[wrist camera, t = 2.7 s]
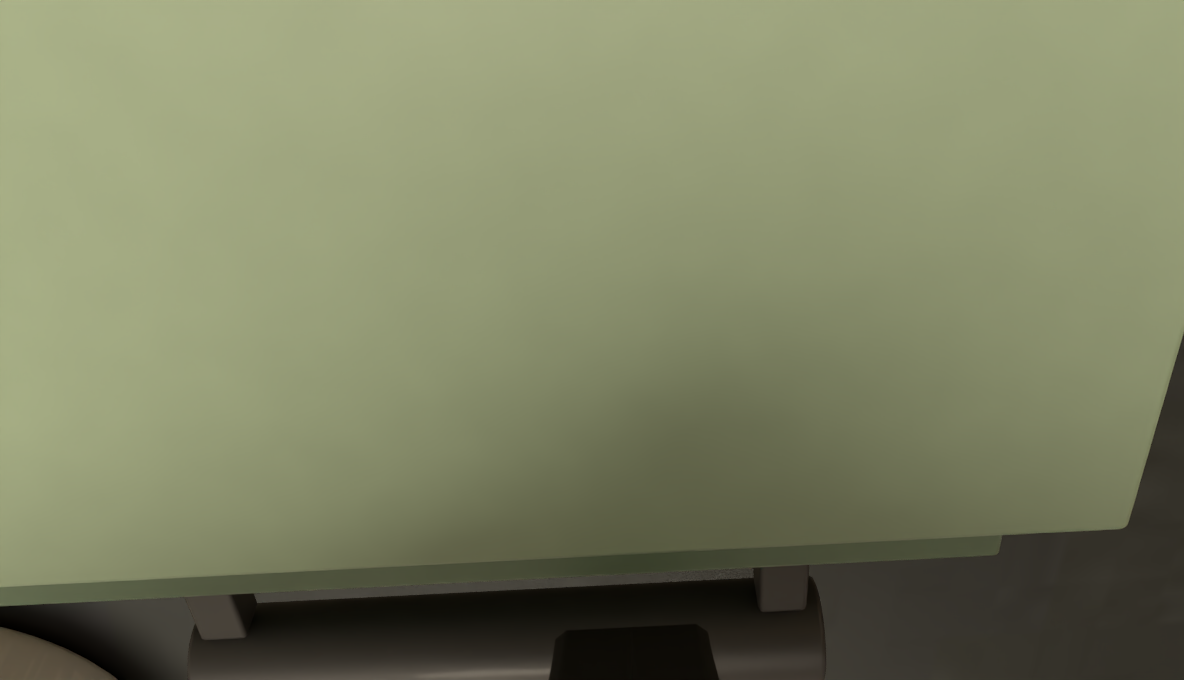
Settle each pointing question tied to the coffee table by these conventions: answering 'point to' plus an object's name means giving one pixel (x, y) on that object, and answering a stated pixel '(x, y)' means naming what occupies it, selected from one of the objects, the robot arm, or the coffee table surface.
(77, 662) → the ramekin
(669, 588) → the drawer
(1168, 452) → the coffee table surface
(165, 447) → the green drawer cabinet
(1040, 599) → the coffee table surface
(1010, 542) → the coffee table surface
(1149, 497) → the coffee table surface
